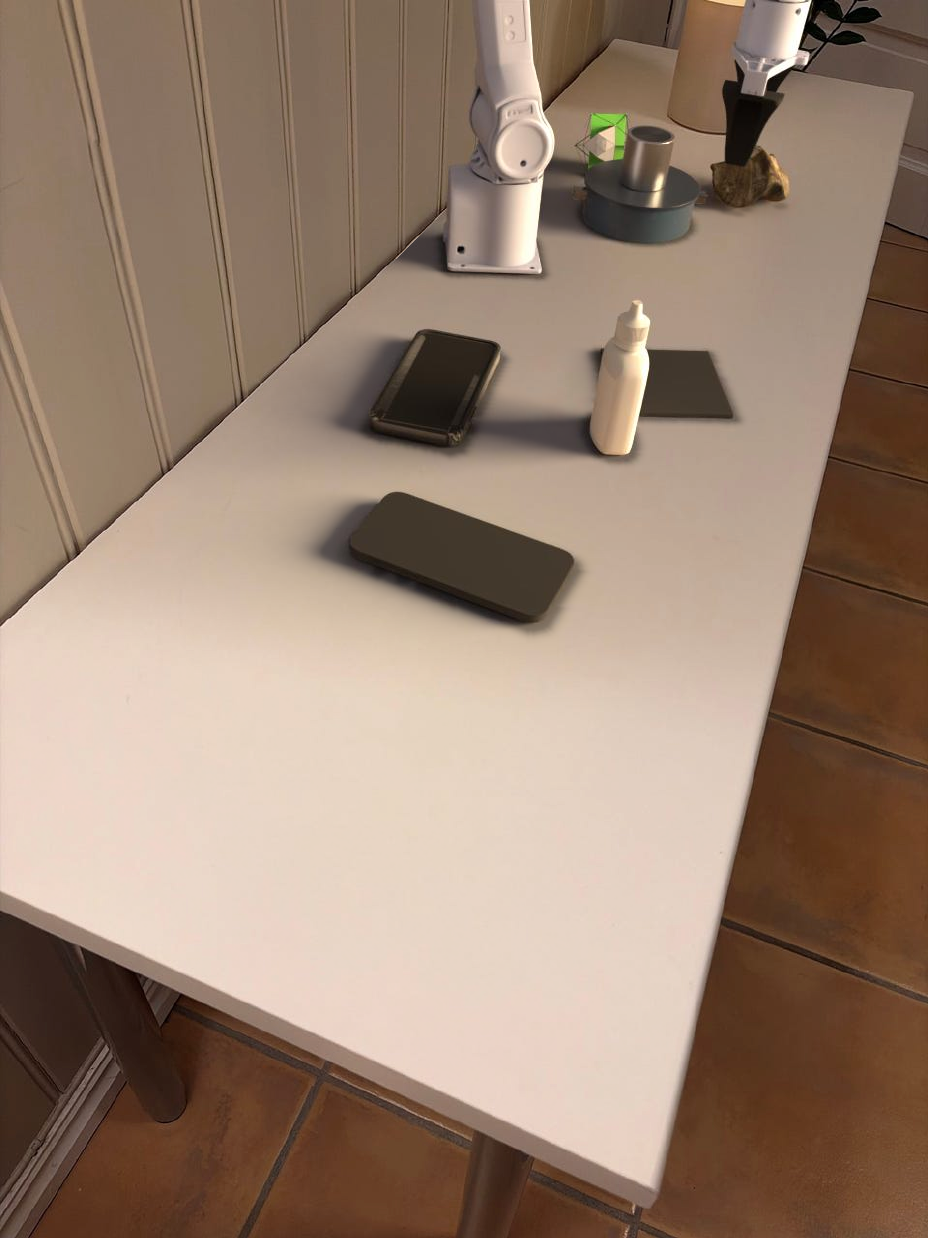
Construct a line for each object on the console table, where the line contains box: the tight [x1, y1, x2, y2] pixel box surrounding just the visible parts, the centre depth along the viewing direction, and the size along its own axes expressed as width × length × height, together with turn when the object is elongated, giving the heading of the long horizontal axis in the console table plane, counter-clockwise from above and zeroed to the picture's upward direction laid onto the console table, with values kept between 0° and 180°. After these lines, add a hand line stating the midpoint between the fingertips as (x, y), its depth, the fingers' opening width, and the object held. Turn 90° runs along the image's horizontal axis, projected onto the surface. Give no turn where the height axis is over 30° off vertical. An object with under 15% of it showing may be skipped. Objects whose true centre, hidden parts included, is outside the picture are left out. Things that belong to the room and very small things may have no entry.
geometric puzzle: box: [573, 112, 632, 171], centre depth 115 cm, size 7×7×8 cm
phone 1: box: [369, 328, 502, 448], centre depth 83 cm, size 8×1×15 cm
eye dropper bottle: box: [589, 299, 651, 456], centre depth 76 cm, size 4×6×12 cm
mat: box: [600, 347, 734, 419], centre depth 86 cm, size 10×10×1 cm
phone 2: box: [347, 491, 575, 624], centre depth 69 cm, size 7×1×15 cm
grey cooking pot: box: [572, 159, 708, 244], centre depth 108 cm, size 15×13×4 cm
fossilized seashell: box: [709, 144, 790, 209], centre depth 113 cm, size 8×7×10 cm
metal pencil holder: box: [620, 124, 676, 192], centre depth 105 cm, size 5×5×5 cm
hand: (740, 149), depth 98 cm, fingers open, 7 cm apart
